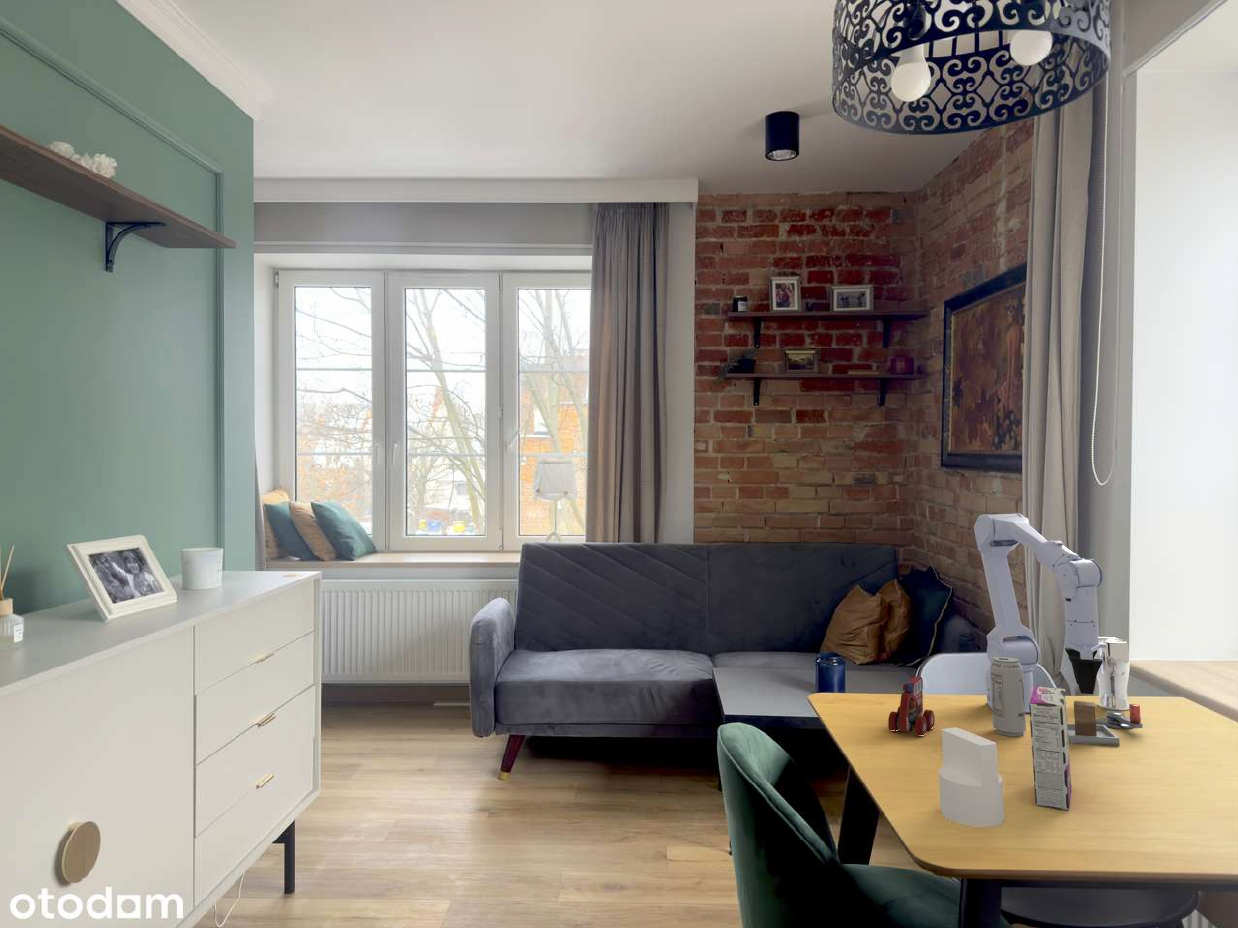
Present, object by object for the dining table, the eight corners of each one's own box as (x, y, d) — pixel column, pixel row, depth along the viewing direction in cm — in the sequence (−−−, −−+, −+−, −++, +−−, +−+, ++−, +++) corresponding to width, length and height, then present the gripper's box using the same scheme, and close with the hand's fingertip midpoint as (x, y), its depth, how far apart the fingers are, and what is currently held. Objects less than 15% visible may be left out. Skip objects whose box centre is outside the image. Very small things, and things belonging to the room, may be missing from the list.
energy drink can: (1028, 738, 154) (1025, 662, 154) (995, 736, 156) (992, 661, 156) (1023, 729, 160) (1019, 656, 160) (991, 727, 161) (988, 655, 162)
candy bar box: (1037, 782, 131) (1032, 685, 132) (1072, 787, 128) (1066, 688, 129) (1033, 805, 122) (1027, 700, 122) (1069, 812, 119) (1064, 704, 120)
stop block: (1096, 740, 150) (1095, 706, 150) (1075, 737, 152) (1073, 704, 152) (1096, 735, 153) (1094, 702, 153) (1075, 733, 155) (1074, 700, 155)
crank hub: (1101, 727, 159) (1101, 723, 159) (1091, 718, 166) (1090, 714, 166) (1140, 729, 157) (1140, 725, 157) (1128, 719, 164) (1127, 715, 164)
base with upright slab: (1018, 821, 116) (1014, 741, 117) (968, 830, 113) (965, 748, 114) (974, 799, 125) (971, 724, 125) (928, 807, 122) (924, 731, 123)
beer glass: (1088, 705, 175) (1085, 638, 176) (1108, 701, 178) (1104, 635, 179) (1119, 712, 169) (1115, 643, 170) (1139, 708, 172) (1135, 640, 173)
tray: (1069, 742, 150) (1069, 735, 150) (1057, 729, 159) (1057, 722, 159) (1119, 745, 148) (1119, 738, 148) (1104, 731, 156) (1104, 724, 156)
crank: (1102, 715, 163) (1101, 695, 163) (1117, 715, 163) (1116, 694, 163) (1131, 728, 154) (1130, 706, 154) (1146, 727, 154) (1145, 706, 154)
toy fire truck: (885, 735, 158) (882, 684, 159) (904, 720, 168) (902, 672, 168) (919, 741, 154) (917, 689, 154) (937, 726, 164) (935, 676, 164)
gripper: (1109, 627, 146) (1113, 699, 146) (1100, 615, 159) (1103, 681, 159) (1066, 625, 149) (1070, 696, 149) (1061, 613, 162) (1064, 679, 162)
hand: (1084, 688), depth 154 cm, fingers open, 7 cm apart
